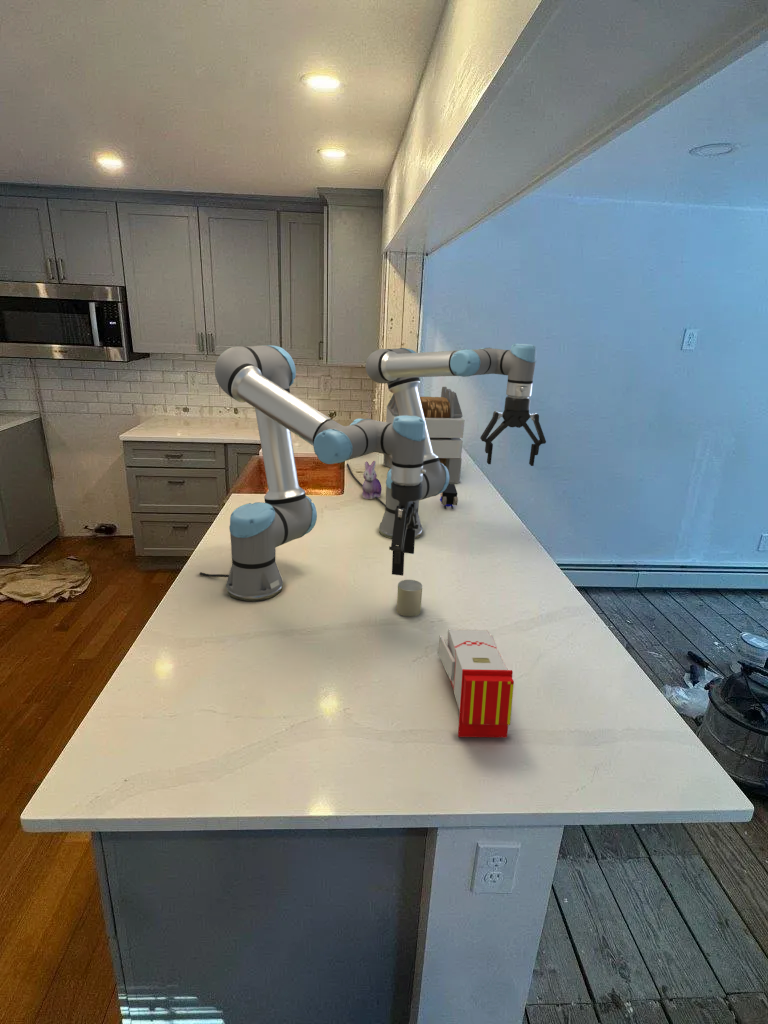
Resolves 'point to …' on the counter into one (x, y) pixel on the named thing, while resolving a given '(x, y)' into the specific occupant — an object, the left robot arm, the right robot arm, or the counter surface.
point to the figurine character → (449, 496)
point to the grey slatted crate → (439, 429)
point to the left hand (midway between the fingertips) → (403, 563)
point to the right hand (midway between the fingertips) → (510, 464)
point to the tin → (409, 598)
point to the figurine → (371, 482)
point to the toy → (478, 682)
